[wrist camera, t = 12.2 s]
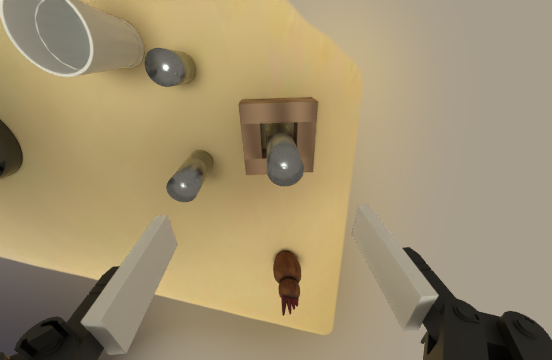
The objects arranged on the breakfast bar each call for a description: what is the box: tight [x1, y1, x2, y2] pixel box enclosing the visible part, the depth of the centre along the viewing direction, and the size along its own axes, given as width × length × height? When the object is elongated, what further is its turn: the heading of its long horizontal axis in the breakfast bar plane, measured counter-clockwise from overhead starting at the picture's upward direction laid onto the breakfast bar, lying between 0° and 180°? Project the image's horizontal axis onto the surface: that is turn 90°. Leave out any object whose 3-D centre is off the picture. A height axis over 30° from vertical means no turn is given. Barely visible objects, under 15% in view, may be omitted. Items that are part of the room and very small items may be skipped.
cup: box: [0, 0, 144, 77], centre depth 26 cm, size 8×8×12 cm
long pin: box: [266, 123, 304, 186], centre depth 32 cm, size 4×4×16 cm
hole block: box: [239, 97, 318, 175], centre depth 36 cm, size 12×12×5 cm
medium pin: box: [166, 150, 213, 202], centre depth 36 cm, size 4×4×11 cm
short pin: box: [145, 48, 196, 87], centre depth 30 cm, size 4×4×7 cm
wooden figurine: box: [273, 252, 301, 316], centre depth 48 cm, size 7×6×15 cm
